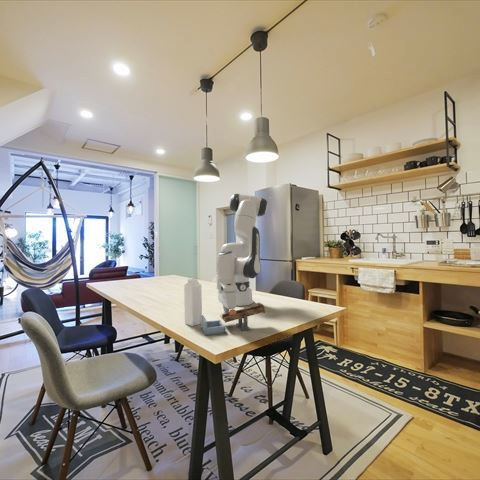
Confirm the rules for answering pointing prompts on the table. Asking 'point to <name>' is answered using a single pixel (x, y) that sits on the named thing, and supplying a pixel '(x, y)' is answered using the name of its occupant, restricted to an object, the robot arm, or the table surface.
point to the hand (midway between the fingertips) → (226, 314)
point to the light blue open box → (212, 327)
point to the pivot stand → (243, 324)
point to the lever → (243, 312)
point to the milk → (193, 302)
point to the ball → (232, 312)
